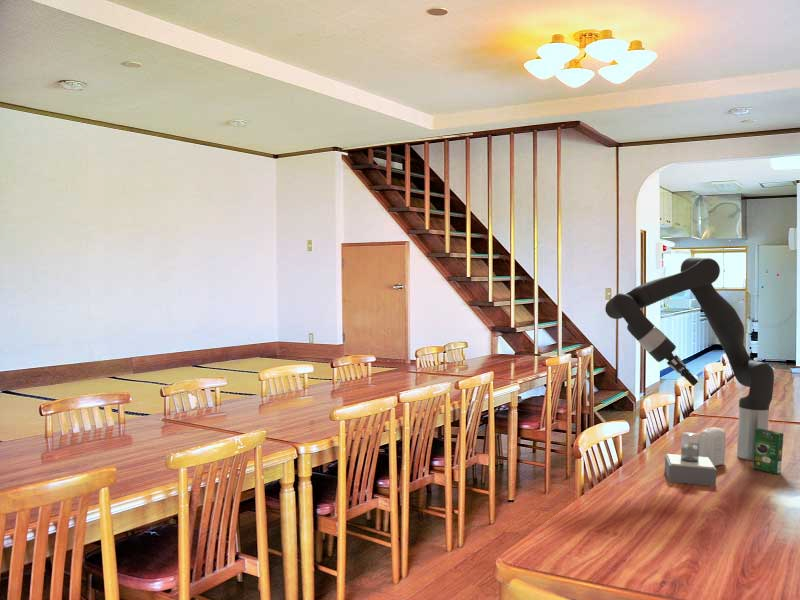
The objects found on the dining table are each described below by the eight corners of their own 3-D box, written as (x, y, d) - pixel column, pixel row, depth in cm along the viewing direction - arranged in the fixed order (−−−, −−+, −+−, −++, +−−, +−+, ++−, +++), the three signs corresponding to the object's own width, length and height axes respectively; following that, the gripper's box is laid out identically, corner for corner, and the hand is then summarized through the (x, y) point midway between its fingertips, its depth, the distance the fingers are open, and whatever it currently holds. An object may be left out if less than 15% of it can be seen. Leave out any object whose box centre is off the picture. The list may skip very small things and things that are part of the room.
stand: (664, 470, 222) (665, 453, 222) (708, 474, 219) (709, 456, 218) (668, 481, 210) (669, 463, 209) (715, 486, 206) (716, 467, 206)
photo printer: (714, 461, 235) (715, 424, 234) (726, 464, 231) (728, 427, 231) (696, 465, 229) (697, 428, 228) (708, 468, 225) (709, 430, 225)
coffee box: (782, 473, 221) (784, 432, 221) (777, 475, 220) (779, 433, 219) (757, 467, 228) (759, 427, 227) (752, 468, 226) (754, 428, 226)
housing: (680, 457, 217) (681, 431, 217) (697, 458, 216) (698, 433, 215) (681, 461, 212) (682, 435, 212) (699, 463, 211) (700, 436, 211)
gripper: (667, 337, 215) (706, 377, 213) (663, 334, 229) (700, 370, 226) (649, 354, 217) (687, 393, 214) (646, 349, 231) (682, 386, 228)
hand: (694, 381), depth 220 cm, fingers open, 8 cm apart
